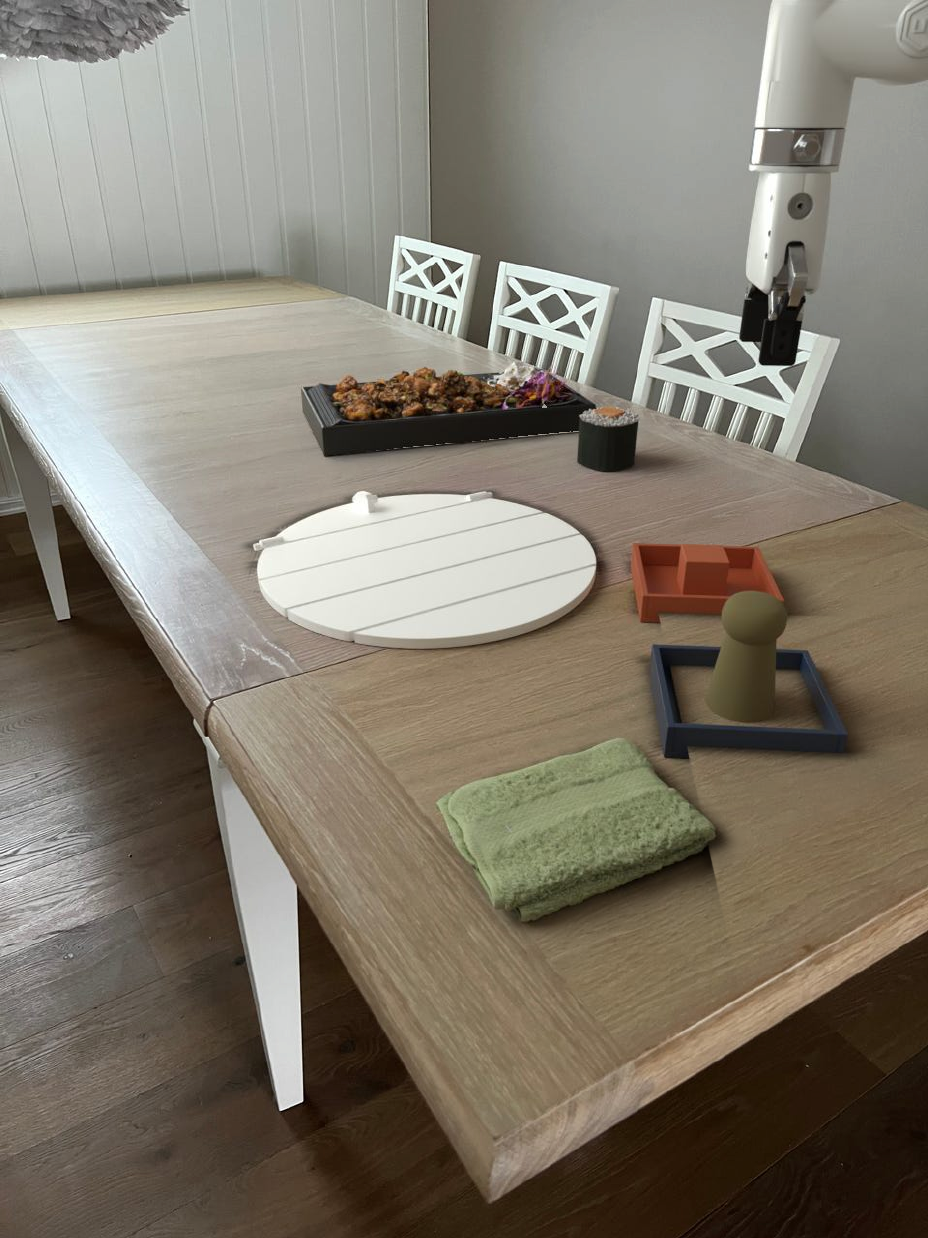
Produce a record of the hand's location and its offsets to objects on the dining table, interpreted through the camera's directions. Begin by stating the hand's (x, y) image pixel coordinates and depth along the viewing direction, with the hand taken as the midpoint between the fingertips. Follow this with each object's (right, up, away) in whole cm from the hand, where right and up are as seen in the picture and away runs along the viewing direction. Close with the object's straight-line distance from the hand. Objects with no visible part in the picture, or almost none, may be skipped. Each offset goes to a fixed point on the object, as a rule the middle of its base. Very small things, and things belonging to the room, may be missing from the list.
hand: (765, 352), depth 88 cm
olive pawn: (-5, -34, -7) cm, 35 cm away
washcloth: (-21, -42, -21) cm, 51 cm away
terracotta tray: (-3, -23, +13) cm, 26 cm away
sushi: (-7, -2, +51) cm, 52 cm away
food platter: (-32, +8, +70) cm, 77 cm away
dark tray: (-5, -34, -7) cm, 35 cm away
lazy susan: (-33, -19, +20) cm, 44 cm away
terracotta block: (-3, -22, +13) cm, 26 cm away
